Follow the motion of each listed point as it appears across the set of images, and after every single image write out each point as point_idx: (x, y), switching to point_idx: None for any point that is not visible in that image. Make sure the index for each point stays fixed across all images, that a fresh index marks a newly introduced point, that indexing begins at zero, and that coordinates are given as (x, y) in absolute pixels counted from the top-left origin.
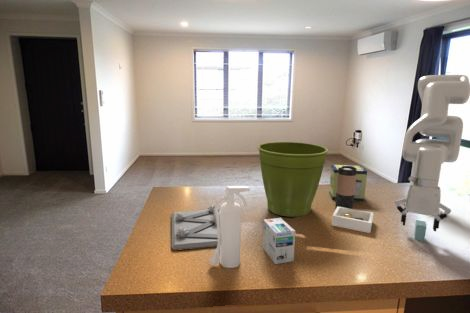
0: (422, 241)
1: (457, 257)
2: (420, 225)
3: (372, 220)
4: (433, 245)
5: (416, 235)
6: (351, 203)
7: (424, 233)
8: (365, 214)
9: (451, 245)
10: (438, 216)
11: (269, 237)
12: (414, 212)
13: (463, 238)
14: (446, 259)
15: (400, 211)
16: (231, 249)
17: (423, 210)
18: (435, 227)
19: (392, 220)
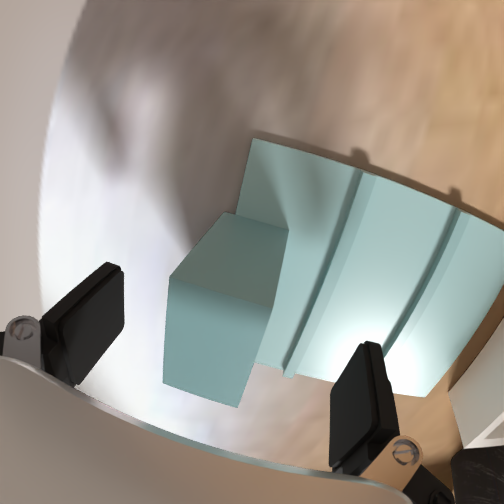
0: (233, 215)
1: (85, 75)
2: (227, 303)
3: (478, 397)
4: (169, 194)
5: (274, 246)
6: (482, 481)
7: (206, 242)
8: (496, 427)
9: (81, 224)
10: (7, 356)
11: None
12: (303, 473)
13: (47, 307)
14: (149, 17)
15: (419, 471)
16: None
17: (127, 493)
18: (93, 280)
19: (316, 441)
